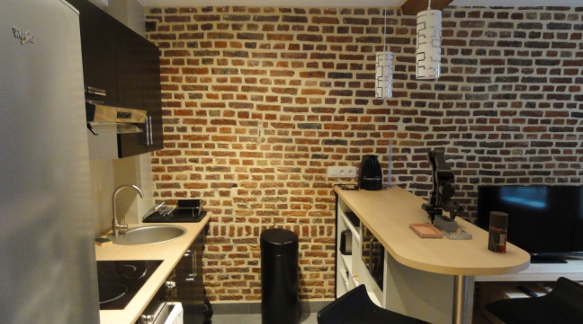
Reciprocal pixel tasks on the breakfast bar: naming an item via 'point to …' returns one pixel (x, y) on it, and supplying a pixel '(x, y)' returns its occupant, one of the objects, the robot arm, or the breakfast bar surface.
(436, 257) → the breakfast bar surface
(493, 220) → the deodorant
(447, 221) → the box
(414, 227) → the tray
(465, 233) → the bay
